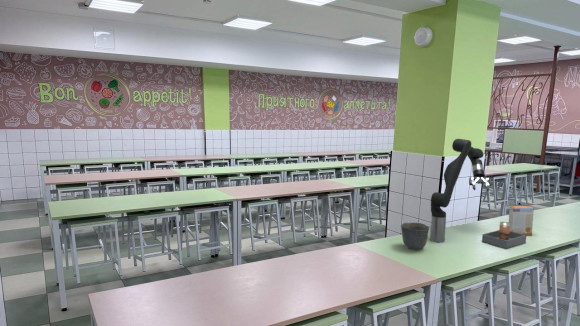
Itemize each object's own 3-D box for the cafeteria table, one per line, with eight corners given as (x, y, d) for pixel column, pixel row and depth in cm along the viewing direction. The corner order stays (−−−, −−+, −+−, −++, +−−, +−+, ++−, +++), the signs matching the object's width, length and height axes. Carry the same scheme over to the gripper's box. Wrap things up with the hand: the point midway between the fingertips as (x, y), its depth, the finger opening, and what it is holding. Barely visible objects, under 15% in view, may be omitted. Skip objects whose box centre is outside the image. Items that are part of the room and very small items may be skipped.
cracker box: (527, 233, 262) (529, 205, 259) (532, 236, 256) (534, 207, 253) (507, 232, 263) (509, 205, 261) (511, 235, 257) (513, 207, 255)
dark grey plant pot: (431, 254, 219) (432, 230, 218) (401, 252, 223) (402, 229, 221) (426, 244, 237) (427, 222, 235) (398, 243, 240) (399, 221, 238)
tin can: (500, 242, 240) (501, 223, 238) (497, 239, 245) (498, 221, 244) (510, 243, 238) (511, 224, 236) (507, 240, 244) (508, 221, 242)
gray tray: (505, 249, 229) (506, 241, 228) (481, 242, 242) (482, 234, 242) (525, 243, 241) (526, 235, 240) (501, 236, 255) (502, 229, 254)
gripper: (468, 168, 261) (471, 186, 251) (490, 169, 257) (493, 187, 248) (466, 174, 267) (469, 192, 257) (487, 175, 263) (491, 193, 253)
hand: (481, 189), depth 252 cm, fingers open, 8 cm apart
